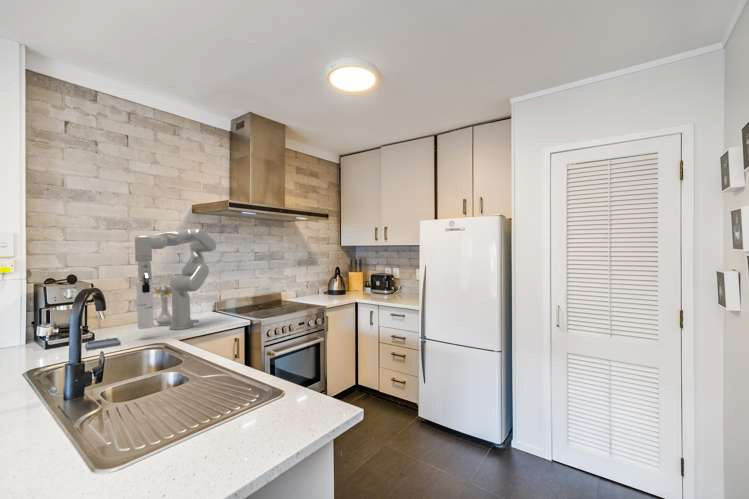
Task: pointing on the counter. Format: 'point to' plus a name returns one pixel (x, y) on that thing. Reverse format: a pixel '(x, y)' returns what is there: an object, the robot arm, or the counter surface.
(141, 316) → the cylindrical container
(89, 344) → the slate tray
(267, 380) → the counter surface
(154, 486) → the counter surface
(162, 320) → the flower vase
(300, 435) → the counter surface
